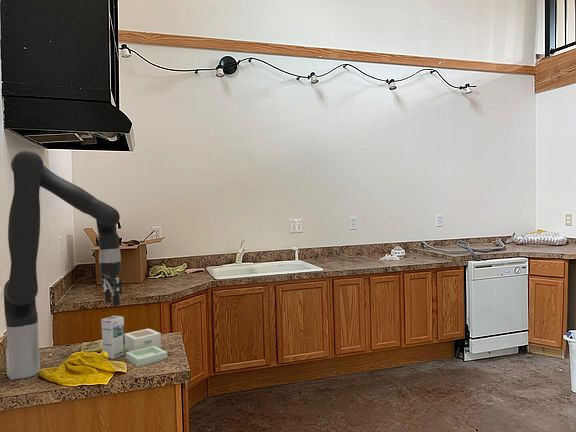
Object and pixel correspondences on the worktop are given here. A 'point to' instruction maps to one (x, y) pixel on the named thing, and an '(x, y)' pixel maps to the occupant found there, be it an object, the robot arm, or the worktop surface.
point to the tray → (146, 356)
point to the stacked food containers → (142, 339)
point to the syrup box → (113, 336)
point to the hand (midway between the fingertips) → (112, 303)
